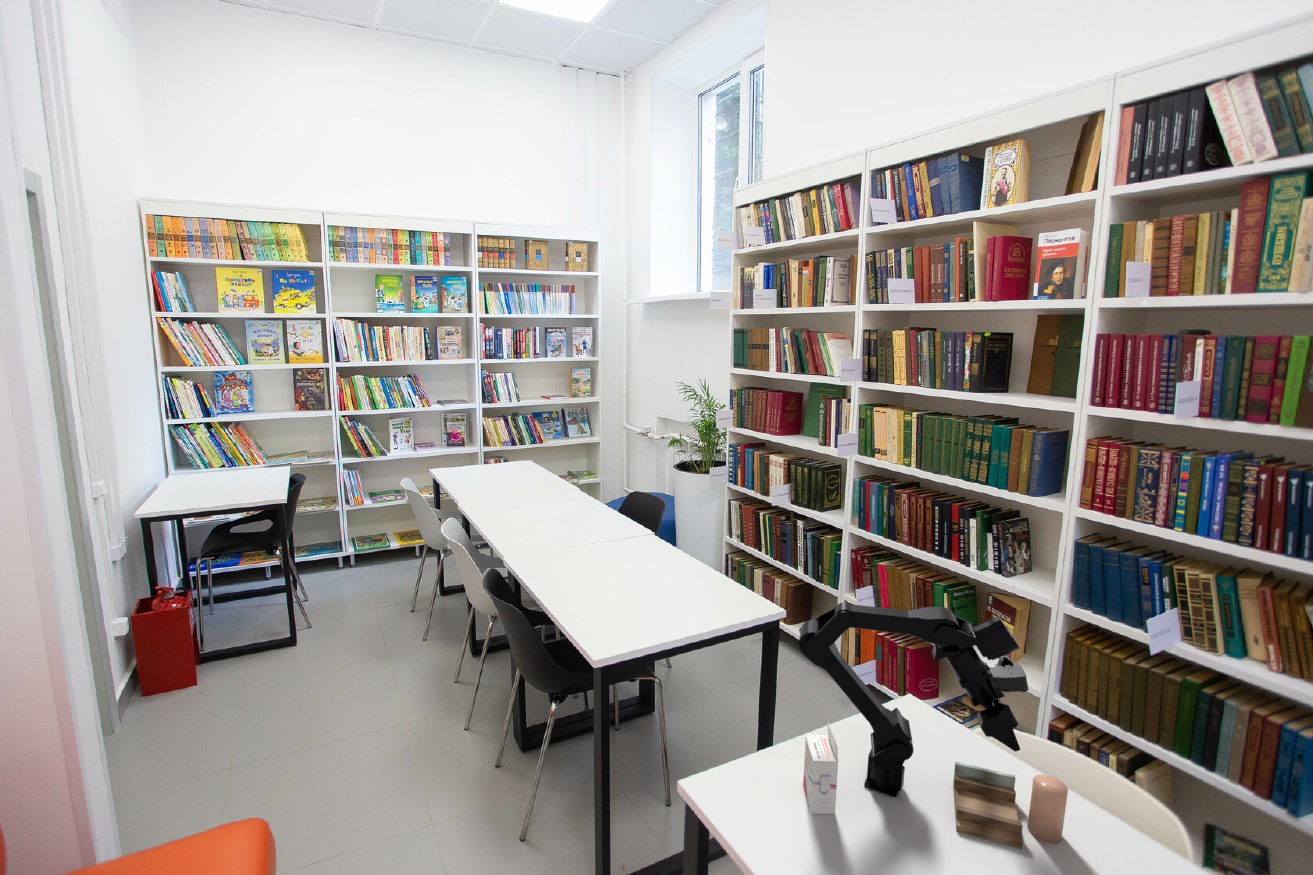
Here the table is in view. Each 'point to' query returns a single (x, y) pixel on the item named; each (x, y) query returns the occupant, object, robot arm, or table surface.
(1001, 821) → the walnut shelf
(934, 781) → the table surface
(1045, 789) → the peach pink cylinder
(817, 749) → the ink cartridge box
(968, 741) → the table surface
